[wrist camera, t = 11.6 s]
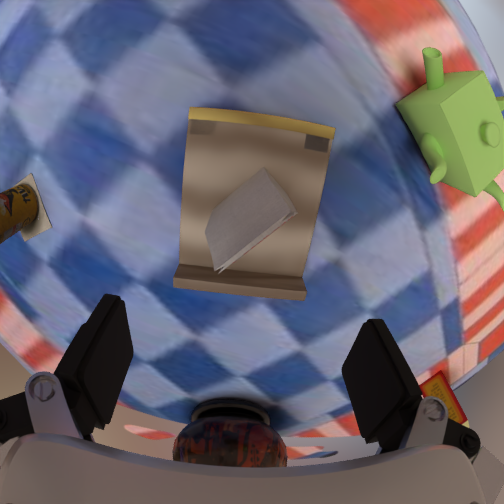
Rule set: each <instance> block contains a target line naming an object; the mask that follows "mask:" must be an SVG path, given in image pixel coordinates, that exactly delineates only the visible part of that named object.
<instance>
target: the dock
mask: <svg viewBox="0 0 504 504" xmlns="http://www.w3.org/2000/svg"><path fill="white" fill-rule="evenodd" d="M188 119H189V122H188V131H187V140H186V150H185V161H184V173H183V187H182V202H181V222H180V251H179V265H178V268H177V270H176V272H175V275H174V277H173V285H174V287H176V288H184V289H192V290H200V291H209V292H217V293H226V294H235V295H245V296H255V297H265V298H276V299H288V300H300V301H304V300H305V297H306V294H307V290H306V287H305V284H304V281H303V278H302V275H303V272H304V268H305V264H306V260H307V256H308V252H309V248H310V244H311V239H312V235H313V231H314V227H315V222H316V218H317V214H318V209H319V205H320V200H321V195H322V191H323V186H324V181H325V176H326V171H327V166H328V161H329V156H330V151H331V145H332V140H333V139H334V134H335V128H333V127H329V126H325V125H320V124H316V123H311V122H306V121H301V120H296V119H291V118H285V117H279V116H273V115H267V114H260V113H253V112H245V111H236V110H226V109H215V108H202V107H190V109H189V117H188ZM263 167H264V168H265V169H266V170H267V171H268V172H269V173H270V175H271V176H272V177H273V178H274V179H275V180H276V182H277V183H278V184H279V185H280V186H281V188H282V189H283V190H284V191H285V192H286V194H287V195H288V197H289V198H290V200H291V202H292V203H293V205H294V207H295V209H296V211H297V212H298V213H297V214H296V215H295V216H293V217H292V218H291V219H290V220H288V221H287V222H286V223H284V224H283V225H282V226H281V227H279V228H278V229H277V230H275V231H274V232H273V233H272V234H270V235H269V236H268V237H266V238H265V239H264V240H263V241H261V242H260V243H259V244H257V245H256V246H255V247H254V248H252V249H251V250H250V251H248V252H247V253H246V254H245V255H243V256H242V257H241V258H240V259H238V260H237V261H236V262H234V263H232V264H230V265H229V266H228V267H227V268H225V269H224V270H223V271H222V272H220V273H219V271H220V269H221V268H219V269H218V270H216V271H214V264H213V260H212V256H211V252H210V249H209V246H208V242H207V239H206V235H205V229H206V227H207V224H208V221H209V218H210V215H211V213H212V210H213V209H214V208H215V207H217V206H218V205H219V204H220V203H221V202H222V201H223V200H225V199H226V198H227V197H228V196H229V195H230V194H232V193H233V192H234V191H235V190H236V189H237V188H239V187H240V186H241V185H242V184H243V183H245V182H246V181H247V180H248V179H249V178H251V177H252V176H253V175H254V174H255V173H257V172H258V171H259V170H260V169H262V168H263ZM218 273H219V274H218Z"/></svg>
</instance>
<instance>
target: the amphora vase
mask: <svg viewBox="0 0 504 504" xmlns="http://www.w3.org/2000/svg"><path fill="white" fill-rule="evenodd" d="M191 421H192V422H191V423H190V424H188V425H187V426H186V427H185V428H184V429H183V430H182V431H181V432H180V433H179V435H178V436H177V438H176V439H175V442H174V447H173V461H178V462H185V463H193V464H202V465H212V466H226V467H251V468H267V467H287V457H288V456H287V450H286V446H285V444H284V442H283V440H282V438H281V437H280V435H279V434H278V433H277V432H276V431H275V430H274V429H273V428H272V427H271V426H269V425H270V424H271V418H270V415H269V414H268V412H267V411H266V410H264V409H263V408H262V407H260V406H258V405H256V404H254V403H250V402H246V401H242V400H233V399H221V400H214V401H209V402H206V403H203V404H201V405H199V406H198V407H196V408H195V409H194V410H193V411H192V413H191Z"/></svg>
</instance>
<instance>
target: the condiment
mask: <svg viewBox="0 0 504 504" xmlns="http://www.w3.org/2000/svg"><path fill="white" fill-rule="evenodd" d="M38 216H39V217H38ZM38 218H39V220H38ZM51 227H52V226H51V224H50V222H49V219H48V217H47V215H46V212H45V209H44V207H43V204H42V201H41V198H40V195H39V193H38V190H37V187H36V184H35V182H34V178H33V176H32V174H29V175H28V176H27V177H25V178H24V179H23V180H21V181H20V182H19V183H17V184H16V185H15V186H14V187H12V188H11V189H8V190H6V191H4V192H2V193H0V244H1V243H2V242H4V241H5V240H6V239H8V238H9V237H11V236H12V235H14V234H15V233H17V232H18V231H21V234H22V237H23V239H24V241H27V240H29V239H30V238H32V237H34V236H36V235H38V234H40V233H42V232H43V231H45V230H47V229H49V228H51Z"/></svg>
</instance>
